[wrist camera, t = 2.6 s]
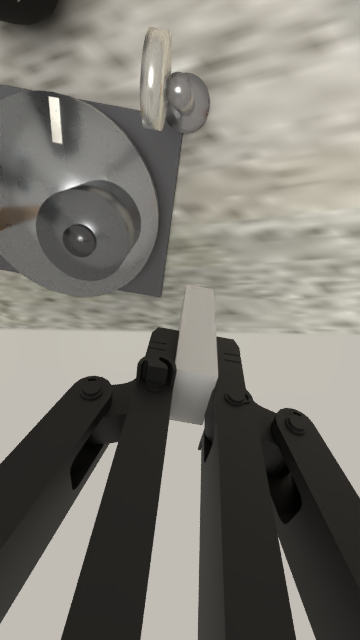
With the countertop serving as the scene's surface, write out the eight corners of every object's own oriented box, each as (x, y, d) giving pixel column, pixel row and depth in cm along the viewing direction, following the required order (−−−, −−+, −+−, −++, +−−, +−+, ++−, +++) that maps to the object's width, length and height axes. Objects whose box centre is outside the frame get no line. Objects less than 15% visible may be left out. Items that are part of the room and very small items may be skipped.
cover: (71, 249, 28) (38, 276, 22) (65, 173, 24) (24, 182, 18) (138, 261, 28) (122, 290, 23) (143, 187, 24) (126, 201, 19)
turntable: (-1, 276, 32) (-36, 298, 27) (-49, 73, 22) (-116, 56, 17) (150, 302, 32) (141, 328, 28) (170, 115, 22) (161, 109, 18)
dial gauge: (160, 131, 25) (132, 125, 15) (166, 67, 22) (137, 11, 13) (203, 139, 25) (203, 139, 15) (214, 76, 23) (221, 27, 13)
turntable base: (2, 267, 34) (-9, 274, 32) (-41, 77, 24) (-61, 71, 22) (161, 294, 34) (158, 303, 32) (184, 119, 24) (182, 117, 22)
